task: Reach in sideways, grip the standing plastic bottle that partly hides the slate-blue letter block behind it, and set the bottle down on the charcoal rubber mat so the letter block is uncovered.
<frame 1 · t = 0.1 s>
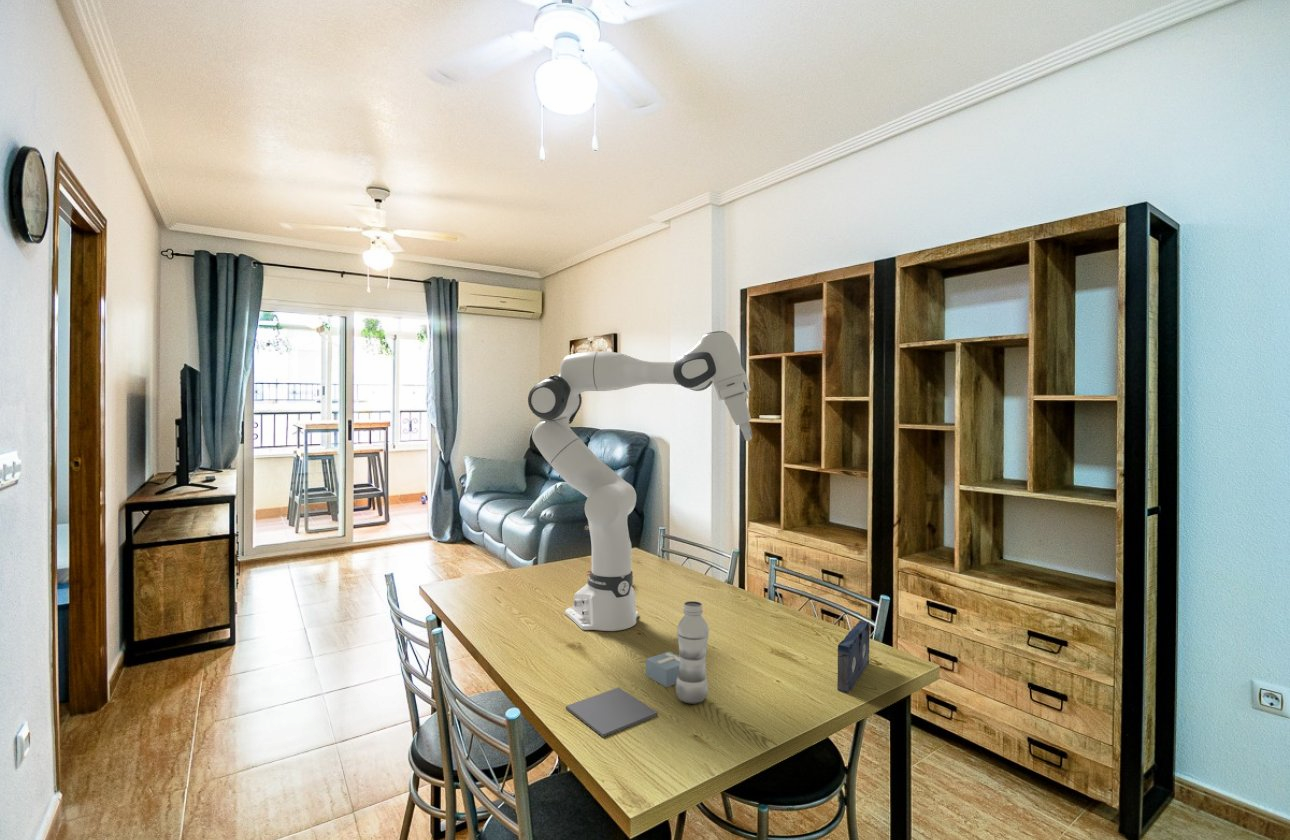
hand: (749, 439, 158), 52 cm above the table, tool tilted 20°, fingers open, 8 cm apart
hippopotamus toy: (613, 583, 204), on the table
plastic bottle: (691, 700, 124), on the table
charcoal mat: (611, 712, 118), on the table
vhs cassette tape: (853, 677, 136), on the table
letter block: (667, 677, 134), on the table
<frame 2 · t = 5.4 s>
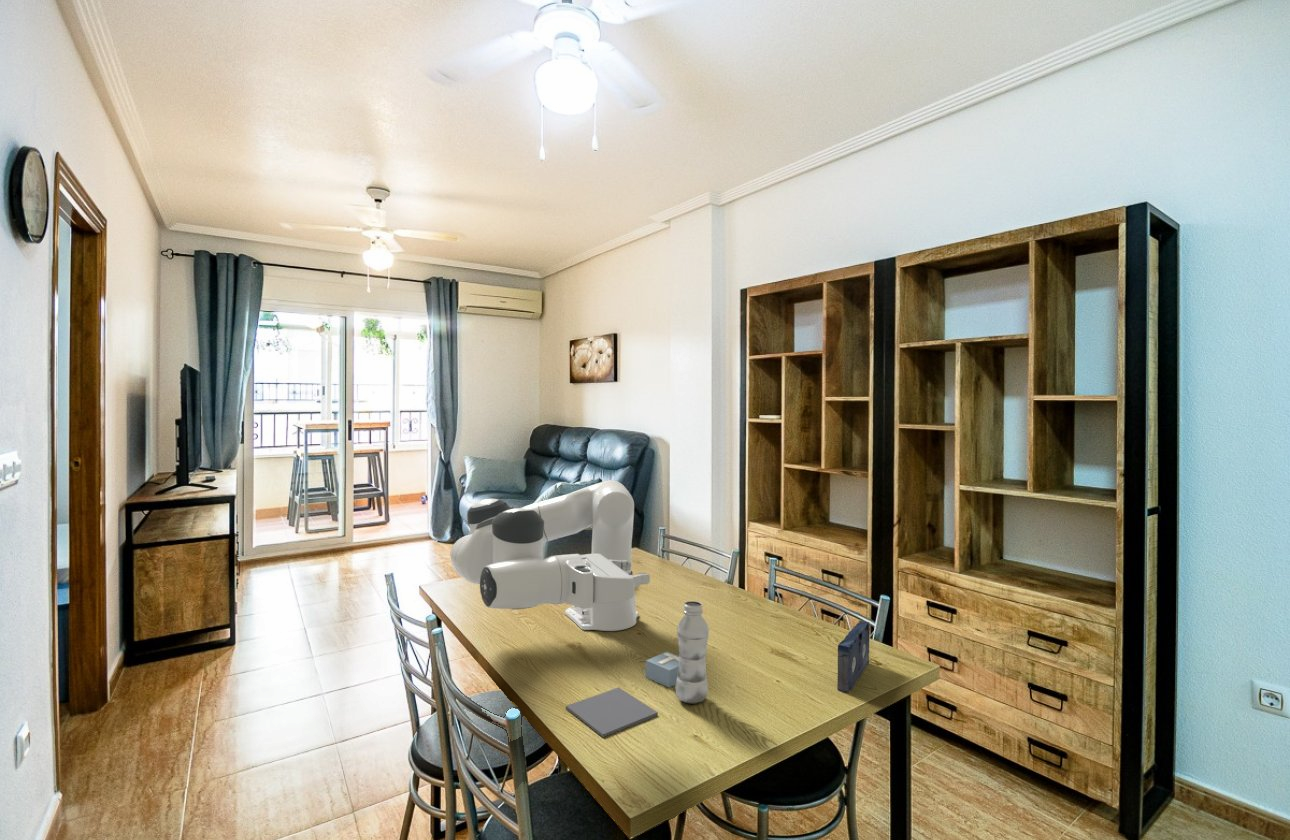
hand: (638, 571, 118), 28 cm above the table, tool horizontal, fingers open, 8 cm apart
nothing on the table moved.
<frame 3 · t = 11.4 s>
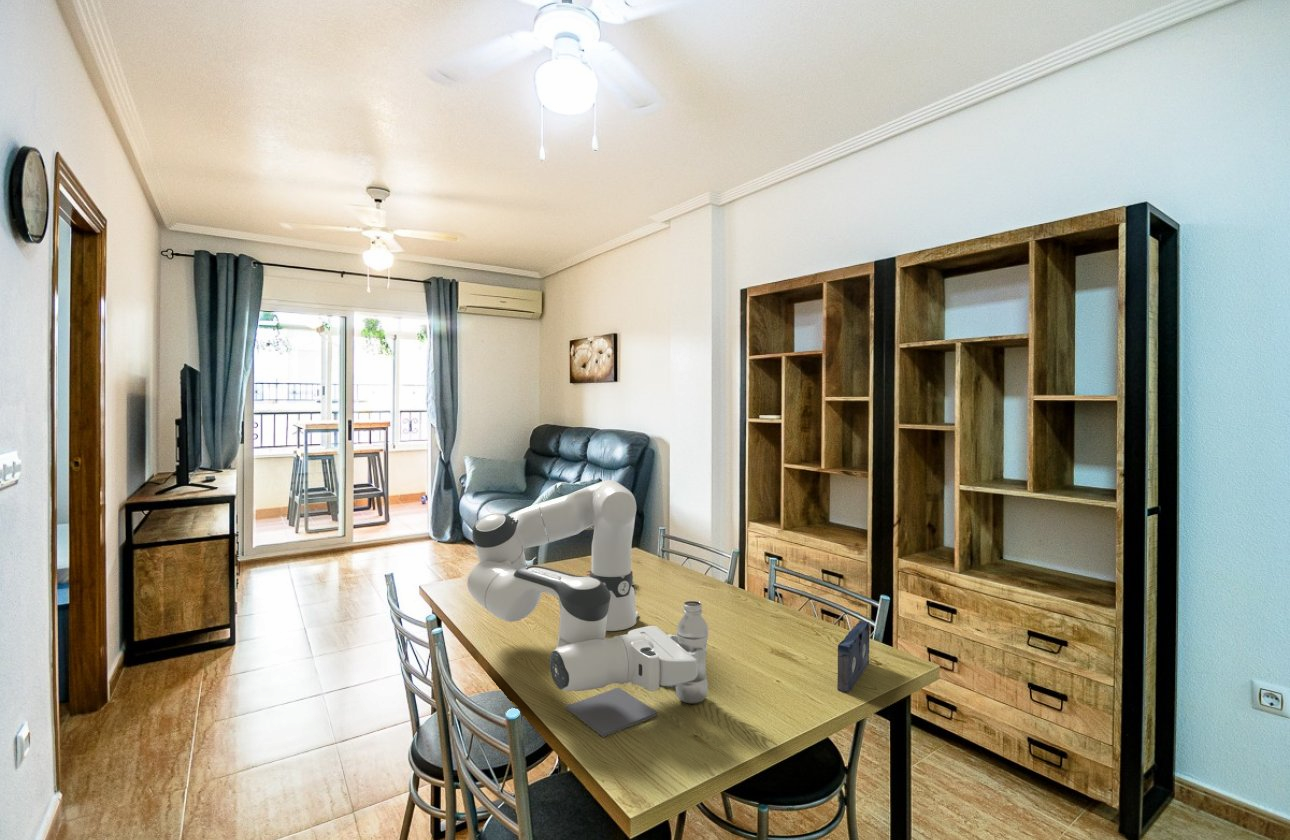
hand: (696, 646, 124), 11 cm above the table, tool horizontal, fingers closed on plastic bottle, 6 cm apart
plastic bottle: (691, 700, 124), on the table, touching gripper
everything else where it was.
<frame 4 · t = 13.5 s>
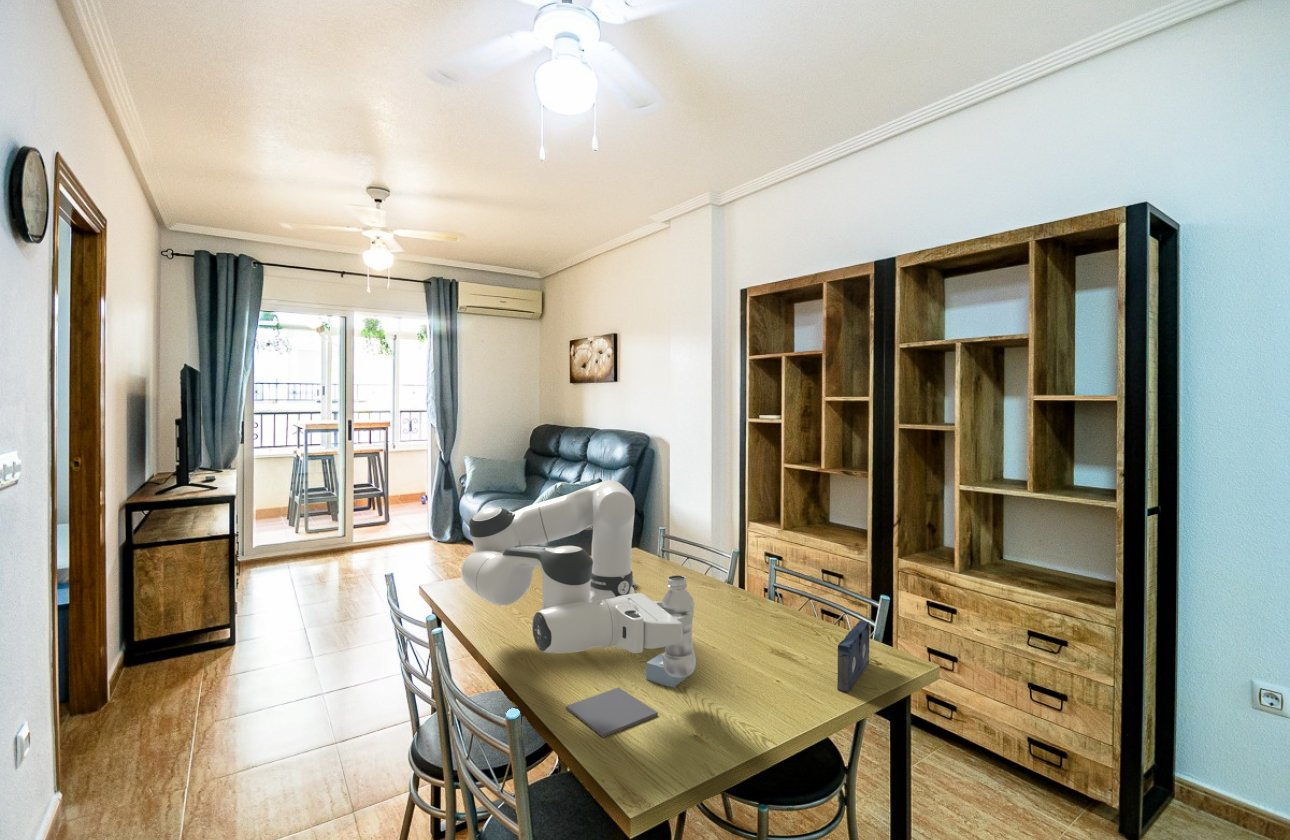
hand: (682, 612, 122), 19 cm above the table, tool horizontal, fingers closed on plastic bottle, 6 cm apart
plastic bottle: (680, 675, 122), point 6 cm above the table, touching gripper
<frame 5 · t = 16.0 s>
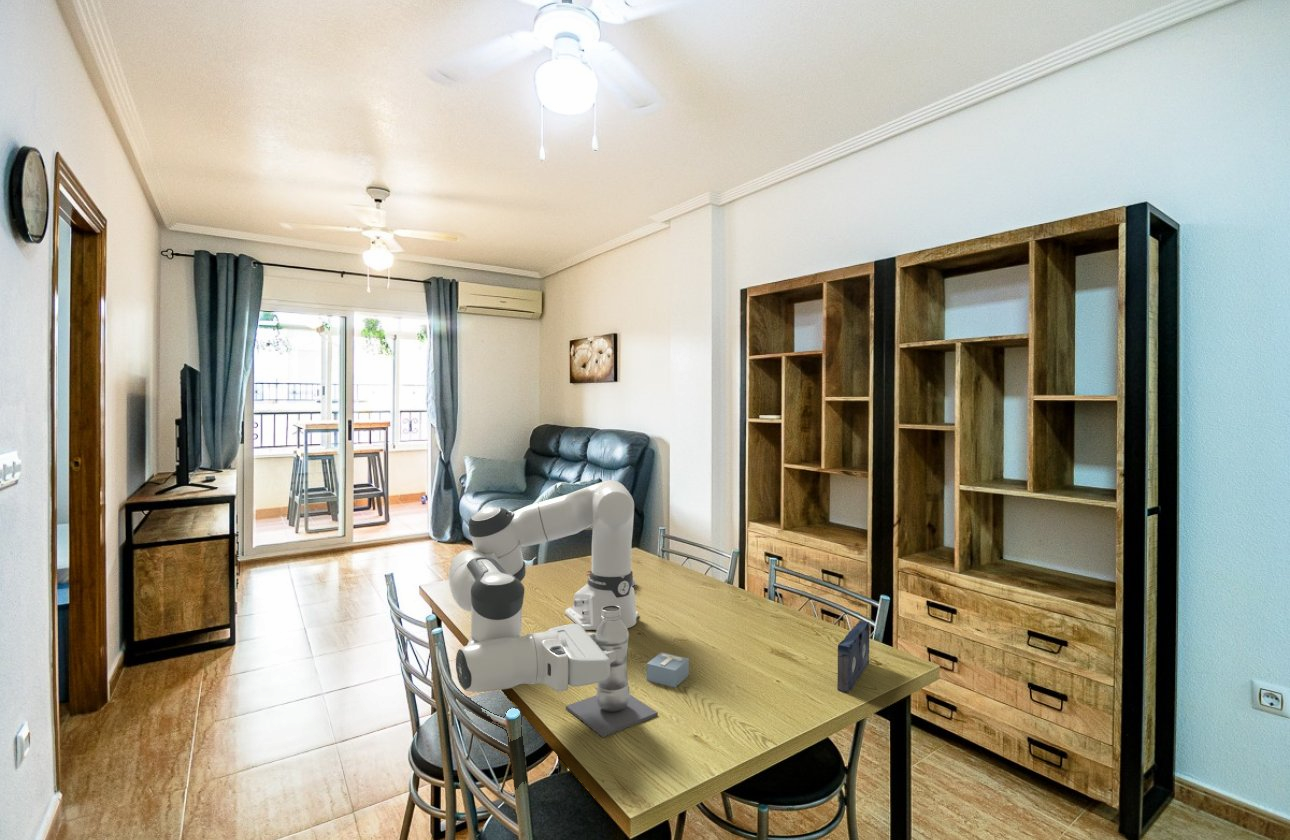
hand: (616, 645, 118), 13 cm above the table, tool horizontal, fingers closed on plastic bottle, 6 cm apart
plastic bottle: (613, 708, 119), point 1 cm above the table, touching charcoal mat, gripper
when the fingers open (13 cm above the table, at t = 16.7 s): plastic bottle stays where it is, resting on charcoal mat.
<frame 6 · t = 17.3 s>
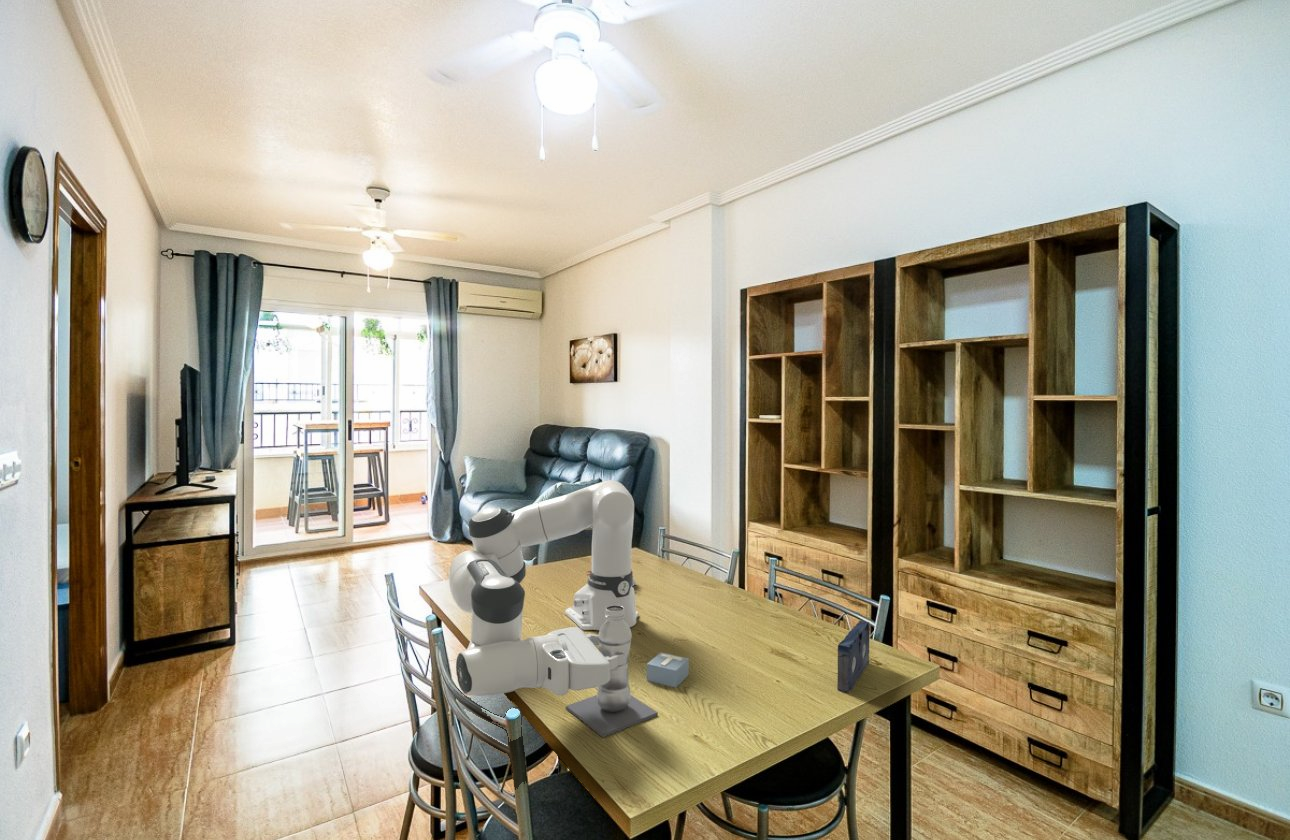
hand: (616, 648, 118), 13 cm above the table, tool horizontal, fingers open, 8 cm apart
plastic bottle: (613, 709, 119), resting on charcoal mat
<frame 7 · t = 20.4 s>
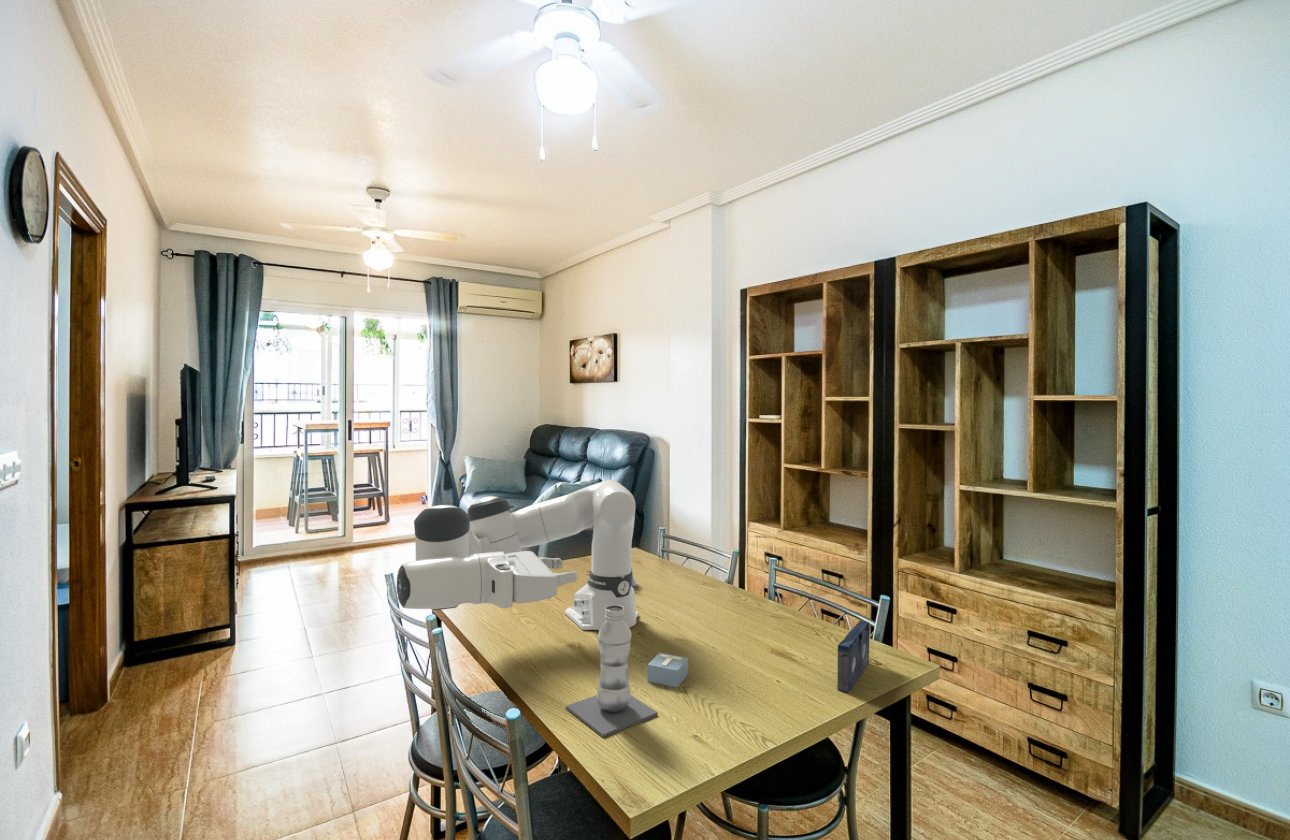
hand: (568, 569, 114), 29 cm above the table, tool horizontal, fingers open, 8 cm apart
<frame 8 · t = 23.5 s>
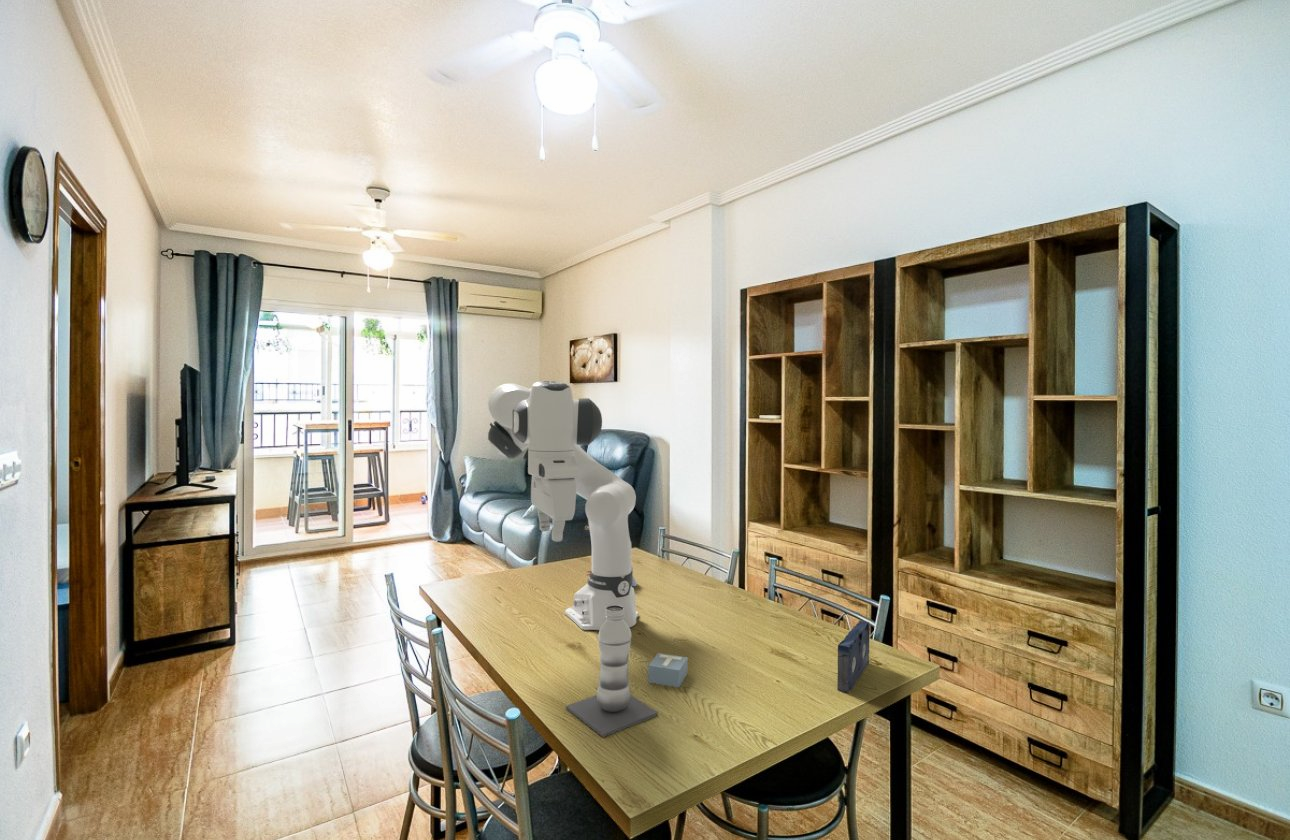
hand: (550, 535, 117), 35 cm above the table, tool pointing down, fingers open, 8 cm apart
at the end: plastic bottle inside the target area on the charcoal mat (0.5 cm from its centre), point 0.4 cm above the charcoal mat's base; plastic bottle tilted 0°; letter block moved 0.7 cm from its start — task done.
